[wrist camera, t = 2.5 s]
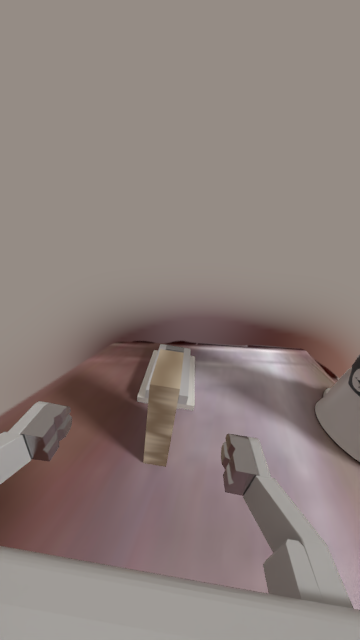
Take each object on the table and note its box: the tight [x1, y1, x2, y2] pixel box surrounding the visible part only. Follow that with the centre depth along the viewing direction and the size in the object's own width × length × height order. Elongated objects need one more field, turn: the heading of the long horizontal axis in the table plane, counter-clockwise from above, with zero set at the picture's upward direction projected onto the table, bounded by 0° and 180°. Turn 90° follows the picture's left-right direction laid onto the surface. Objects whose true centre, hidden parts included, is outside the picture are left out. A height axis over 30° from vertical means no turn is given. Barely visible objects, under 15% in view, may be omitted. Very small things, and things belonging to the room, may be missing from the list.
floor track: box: [137, 344, 195, 411], centre depth 38 cm, size 10×14×3 cm
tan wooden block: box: [143, 349, 184, 467], centre depth 24 cm, size 3×6×14 cm, turn 175°
